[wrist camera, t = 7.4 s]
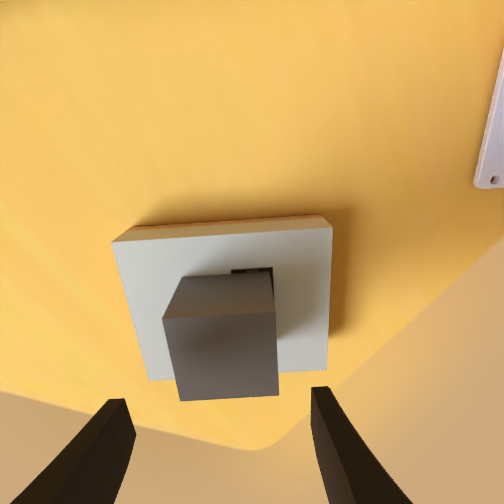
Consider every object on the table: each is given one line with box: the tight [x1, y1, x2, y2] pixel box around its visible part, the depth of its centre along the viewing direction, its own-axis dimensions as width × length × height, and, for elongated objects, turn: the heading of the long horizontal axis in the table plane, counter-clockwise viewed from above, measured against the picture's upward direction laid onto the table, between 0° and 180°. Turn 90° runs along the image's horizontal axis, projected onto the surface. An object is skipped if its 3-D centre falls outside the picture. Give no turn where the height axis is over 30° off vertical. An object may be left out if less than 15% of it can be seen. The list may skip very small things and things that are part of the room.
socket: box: [111, 214, 333, 381], centre depth 18 cm, size 12×10×3 cm
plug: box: [162, 268, 279, 401], centre depth 16 cm, size 5×5×6 cm
